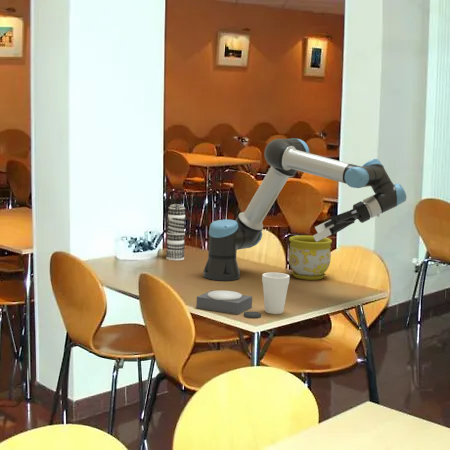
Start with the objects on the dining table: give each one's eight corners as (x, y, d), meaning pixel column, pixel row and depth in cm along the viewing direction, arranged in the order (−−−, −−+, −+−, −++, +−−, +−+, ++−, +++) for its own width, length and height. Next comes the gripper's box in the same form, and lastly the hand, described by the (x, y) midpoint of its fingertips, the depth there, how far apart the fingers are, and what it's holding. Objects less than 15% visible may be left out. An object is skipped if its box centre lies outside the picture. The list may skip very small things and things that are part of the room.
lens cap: (240, 317, 280) (240, 314, 279) (247, 313, 285) (247, 310, 285) (256, 320, 277) (257, 316, 277) (263, 316, 283) (263, 313, 282)
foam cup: (285, 316, 283) (287, 279, 281) (258, 313, 285) (260, 276, 283) (288, 309, 292) (290, 273, 290) (263, 307, 294) (265, 271, 292)
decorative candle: (189, 258, 380) (191, 204, 376) (177, 261, 372) (179, 206, 368) (172, 255, 384) (174, 202, 380) (161, 258, 376) (162, 204, 373)
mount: (196, 307, 289) (196, 294, 288) (211, 301, 300) (211, 288, 299) (237, 314, 282) (238, 300, 282) (251, 307, 293) (252, 294, 292)
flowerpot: (278, 275, 349) (280, 237, 347) (303, 270, 362) (306, 234, 360) (313, 283, 337) (315, 243, 335) (337, 277, 351) (340, 239, 348)
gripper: (375, 209, 293) (322, 236, 292) (367, 226, 317) (318, 250, 316) (365, 191, 295) (312, 217, 294) (358, 209, 319) (309, 233, 318)
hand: (315, 234), depth 305 cm, fingers open, 13 cm apart
